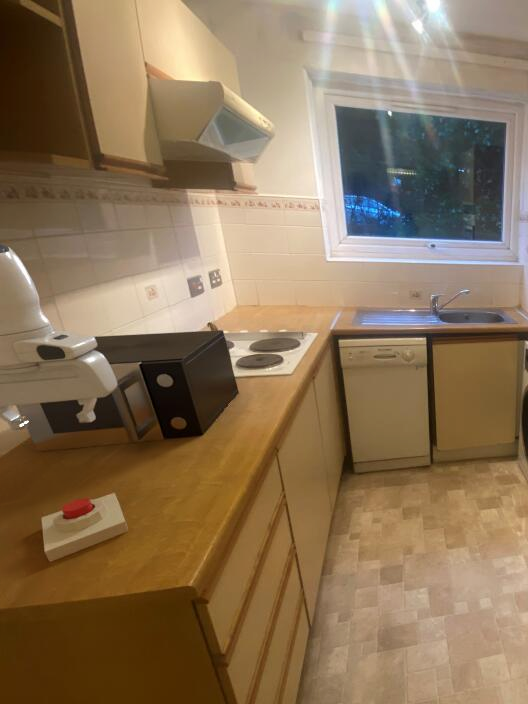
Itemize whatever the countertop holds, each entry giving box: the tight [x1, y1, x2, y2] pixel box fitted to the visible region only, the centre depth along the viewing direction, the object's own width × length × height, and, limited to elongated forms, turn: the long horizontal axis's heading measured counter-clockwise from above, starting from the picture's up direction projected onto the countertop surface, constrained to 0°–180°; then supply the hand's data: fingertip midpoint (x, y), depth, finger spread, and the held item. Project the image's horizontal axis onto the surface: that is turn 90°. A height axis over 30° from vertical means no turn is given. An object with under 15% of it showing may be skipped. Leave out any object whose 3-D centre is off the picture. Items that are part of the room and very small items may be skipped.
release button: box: [61, 498, 93, 519], centre depth 76 cm, size 4×4×2 cm
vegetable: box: [206, 321, 233, 365], centre depth 139 cm, size 4×4×20 cm
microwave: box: [93, 329, 240, 440], centre depth 113 cm, size 28×34×20 cm
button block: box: [40, 492, 129, 563], centre depth 76 cm, size 12×10×4 cm
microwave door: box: [15, 362, 166, 453], centre depth 98 cm, size 8×26×20 cm, turn 104°
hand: (55, 424), depth 74 cm, fingers open, 8 cm apart
